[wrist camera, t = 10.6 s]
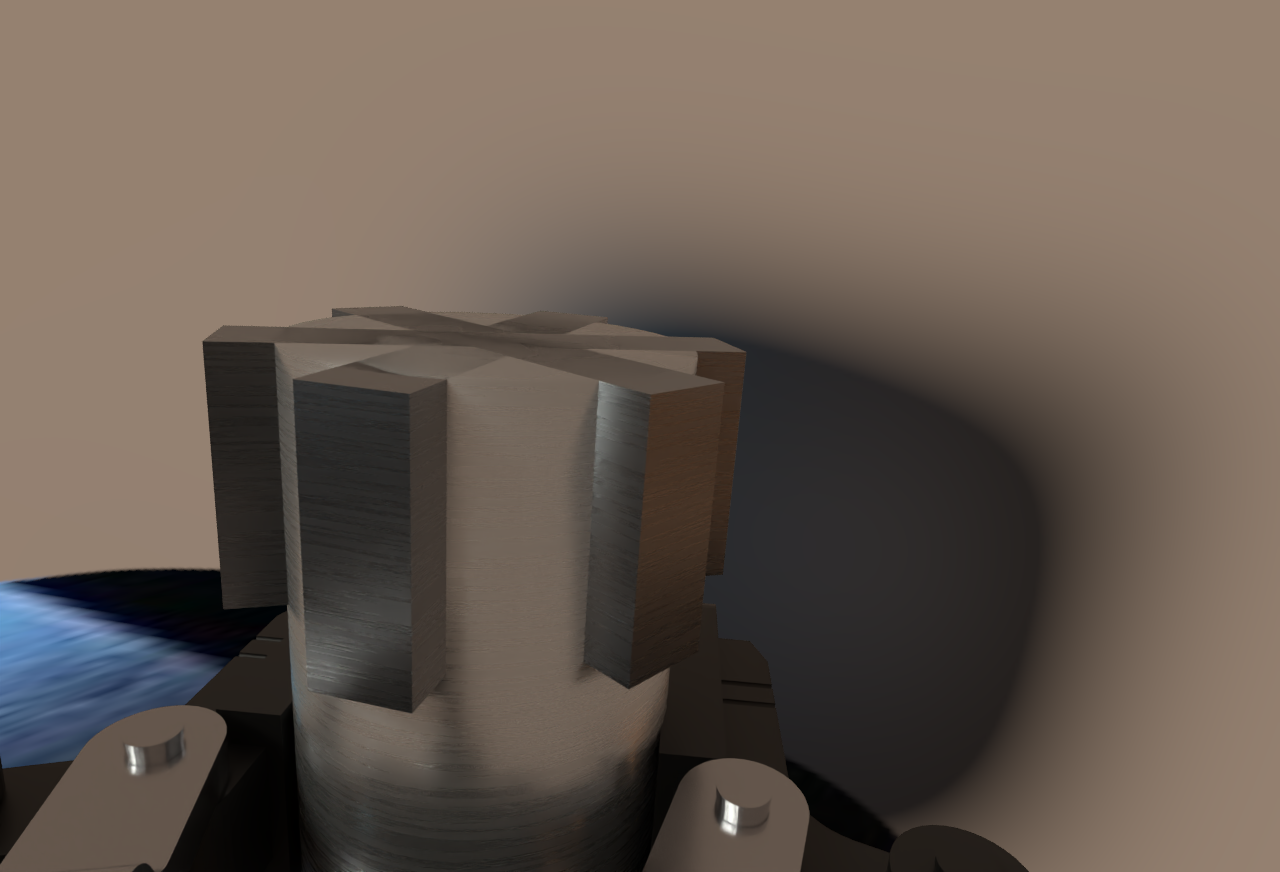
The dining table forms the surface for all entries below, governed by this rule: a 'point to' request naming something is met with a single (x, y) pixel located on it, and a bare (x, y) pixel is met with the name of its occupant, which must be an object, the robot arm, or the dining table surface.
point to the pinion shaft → (474, 570)
